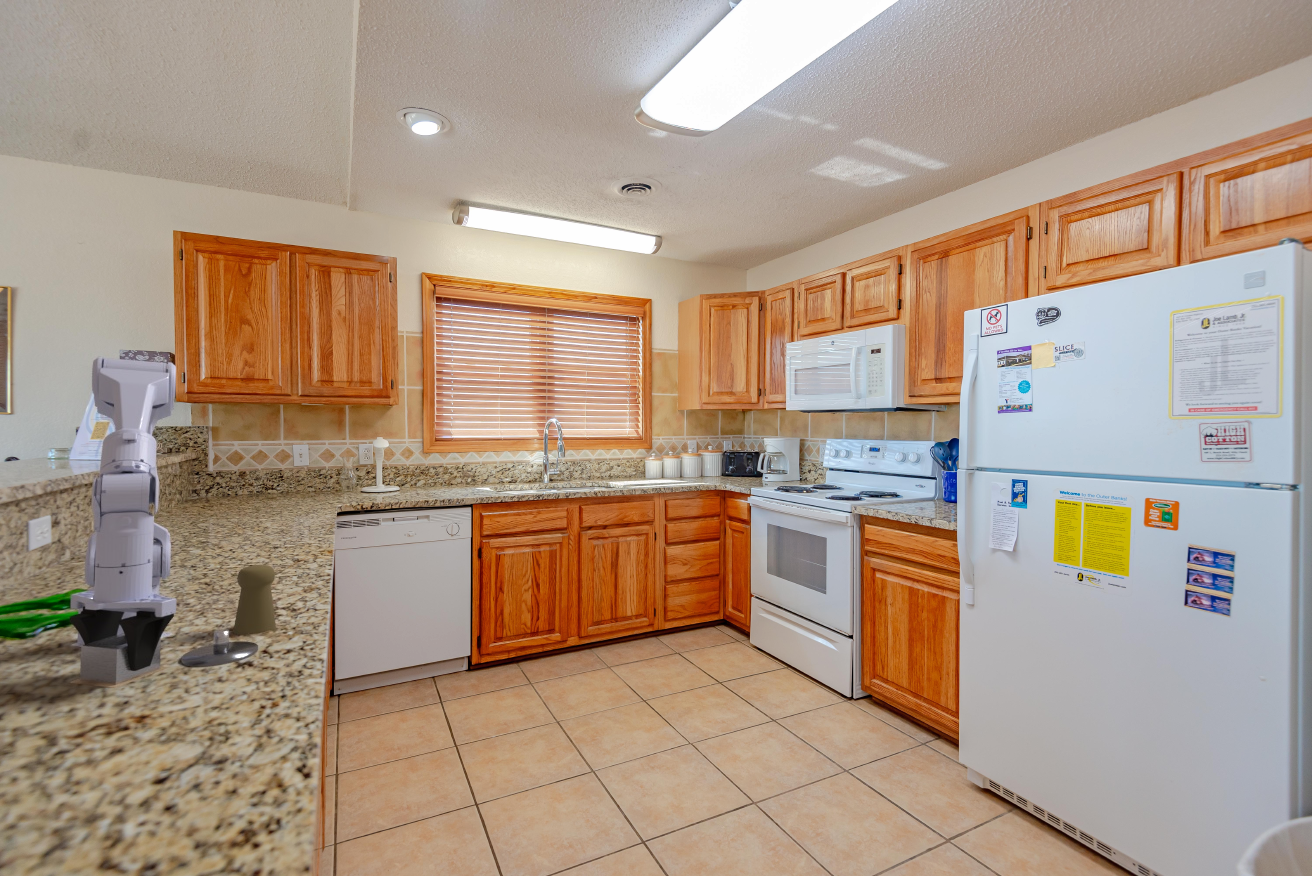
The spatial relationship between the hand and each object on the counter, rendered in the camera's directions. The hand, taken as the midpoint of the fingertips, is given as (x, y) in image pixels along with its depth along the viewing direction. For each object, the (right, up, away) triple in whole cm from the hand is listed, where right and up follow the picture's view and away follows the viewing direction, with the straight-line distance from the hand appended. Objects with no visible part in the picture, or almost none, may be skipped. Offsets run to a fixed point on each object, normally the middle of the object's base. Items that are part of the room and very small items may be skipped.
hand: (121, 666), depth 79 cm
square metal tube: (0, -1, 0) cm, 1 cm away
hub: (+7, -2, +8) cm, 11 cm away
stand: (0, -2, 0) cm, 2 cm away
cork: (+4, -2, +20) cm, 20 cm away
